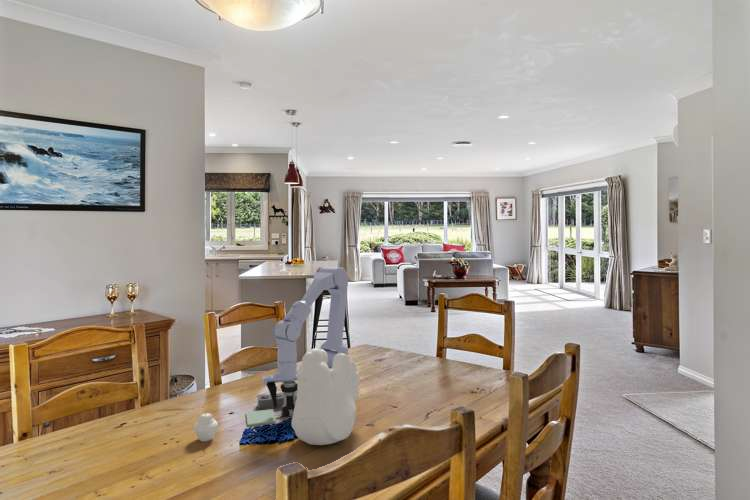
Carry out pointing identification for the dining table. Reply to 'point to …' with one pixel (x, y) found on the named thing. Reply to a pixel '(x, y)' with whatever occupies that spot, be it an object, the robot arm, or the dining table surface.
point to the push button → (288, 398)
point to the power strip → (267, 403)
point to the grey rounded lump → (205, 427)
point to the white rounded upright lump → (325, 398)
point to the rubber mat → (260, 417)
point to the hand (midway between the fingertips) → (287, 404)
